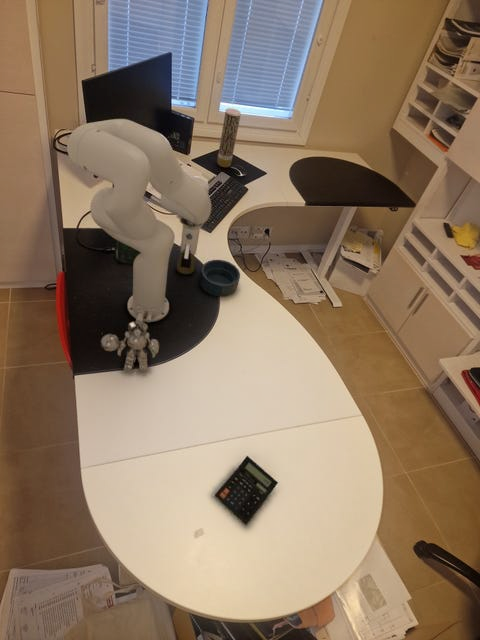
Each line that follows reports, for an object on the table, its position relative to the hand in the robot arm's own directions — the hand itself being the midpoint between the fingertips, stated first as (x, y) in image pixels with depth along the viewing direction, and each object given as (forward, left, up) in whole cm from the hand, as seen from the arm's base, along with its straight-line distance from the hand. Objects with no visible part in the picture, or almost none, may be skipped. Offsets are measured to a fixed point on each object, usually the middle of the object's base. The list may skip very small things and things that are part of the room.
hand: (186, 262), depth 140 cm
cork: (0, 0, -3) cm, 3 cm away
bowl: (-4, -12, -4) cm, 13 cm away
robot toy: (-42, +10, -4) cm, 43 cm away
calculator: (-73, -23, -4) cm, 77 cm away
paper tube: (+82, -9, -4) cm, 83 cm away
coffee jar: (+2, +19, -4) cm, 20 cm away
